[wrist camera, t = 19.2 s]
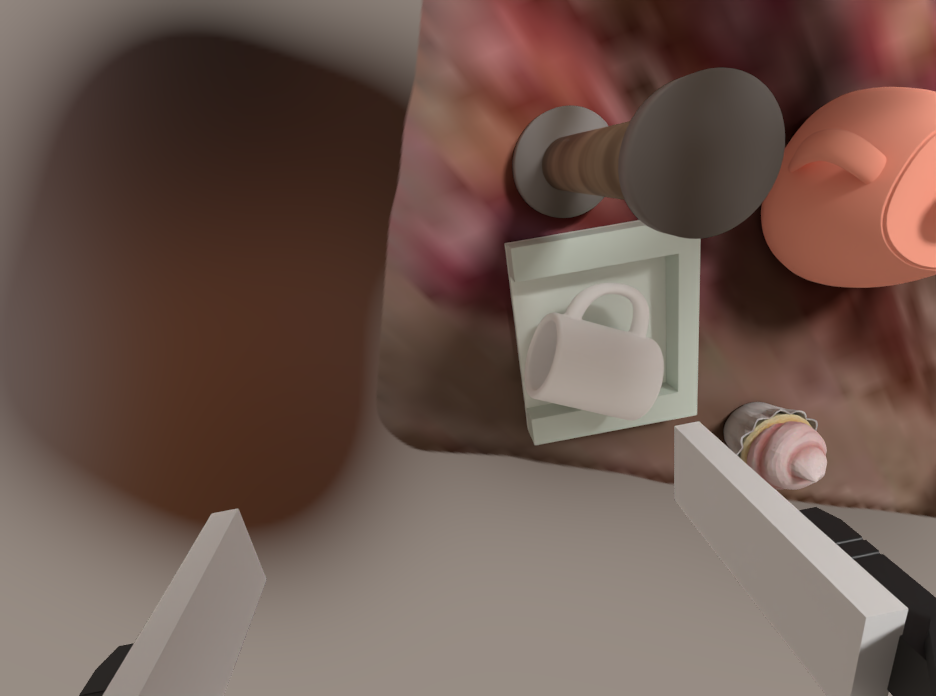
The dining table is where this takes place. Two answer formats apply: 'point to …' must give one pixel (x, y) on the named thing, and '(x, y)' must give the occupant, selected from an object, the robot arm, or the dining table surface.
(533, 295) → the notched board
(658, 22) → the dining table surface
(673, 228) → the bobbin
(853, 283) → the teapot
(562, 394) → the mug
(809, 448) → the cupcake
